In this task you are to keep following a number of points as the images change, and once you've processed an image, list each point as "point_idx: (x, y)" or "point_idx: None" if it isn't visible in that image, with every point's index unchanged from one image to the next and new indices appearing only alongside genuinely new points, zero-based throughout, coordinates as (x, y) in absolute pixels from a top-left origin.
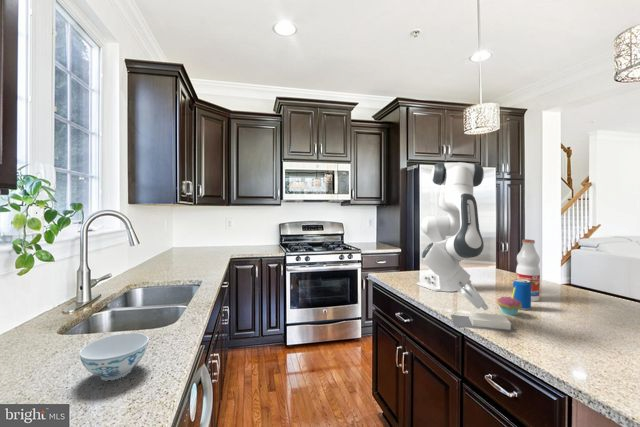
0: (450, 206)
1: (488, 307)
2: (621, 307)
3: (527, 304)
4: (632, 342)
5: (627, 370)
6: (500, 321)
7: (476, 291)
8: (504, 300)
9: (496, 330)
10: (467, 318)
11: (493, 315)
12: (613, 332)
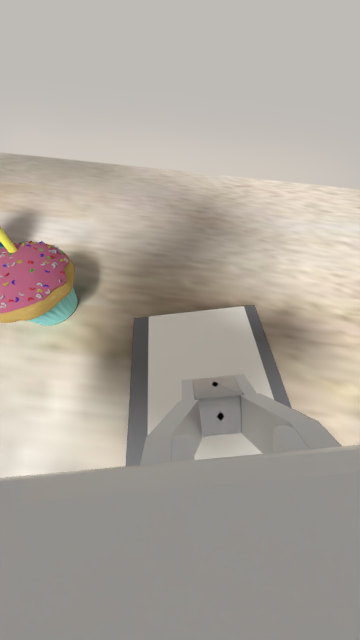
0: None
1: (242, 374)
2: (15, 161)
3: (3, 246)
4: (182, 172)
5: (324, 189)
6: (245, 339)
7: (318, 587)
8: (25, 282)
9: (277, 369)
10: None
11: (167, 359)
12: (143, 179)
